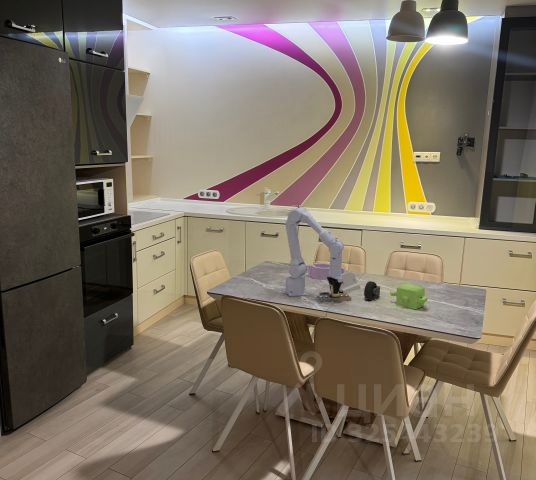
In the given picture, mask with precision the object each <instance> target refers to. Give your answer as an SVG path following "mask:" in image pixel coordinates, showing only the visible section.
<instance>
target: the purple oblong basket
mask: <svg viewBox="0 0 536 480" xmlns="http://www.w3.org/2000/svg"><path fill="white" fill-rule="evenodd" d="M329 269H330V263H326V262H324V263H322V262H319V263H318V262H313V264H309V265H308V270H307V272H308V278H309V277H310V278H312V279H315V280H320V281H328V279H327V277H330V276H329V275H328V271H329ZM342 273H345V267H344V266H341V274H342Z"/></svg>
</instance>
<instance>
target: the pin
mask: <svg viewBox="0 0 536 480" xmlns="http://www.w3.org/2000/svg"><path fill="white" fill-rule="evenodd" d="M330 286H331V291H330V294H331V298H338V297H339V294H340V291H339V292H338V294H334V293H333V285H332V284H330ZM330 286H329V287H330Z"/></svg>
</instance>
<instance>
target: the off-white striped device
mask: <svg viewBox="0 0 536 480" xmlns="http://www.w3.org/2000/svg"><path fill="white" fill-rule="evenodd" d="M342 274H343V276H342V281H343V283H342V284H341V286H340V289H339V293H341V292H342V294H348V293H350V292H353V291H356V290H358V289H361V285H360V283H358V281H357V278H356V275H355V273H354V272H344V273H342Z"/></svg>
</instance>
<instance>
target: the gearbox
mask: <svg viewBox="0 0 536 480" xmlns="http://www.w3.org/2000/svg"><path fill="white" fill-rule="evenodd" d="M425 291H426V288H425V287H423V286H420V285H415V284H412V283H411V284H410V283H402V284H400V285H399V286H397V287H396V291H390V292H389V293H390V294H389V295H390V297H396V300H395V302H396V303H395V304H396V306H399V307H403V308H407V309H412V310H418V309H420V308H422V307H423V306H425V303H427V302H428V296H425V293H426V292H425Z"/></svg>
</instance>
